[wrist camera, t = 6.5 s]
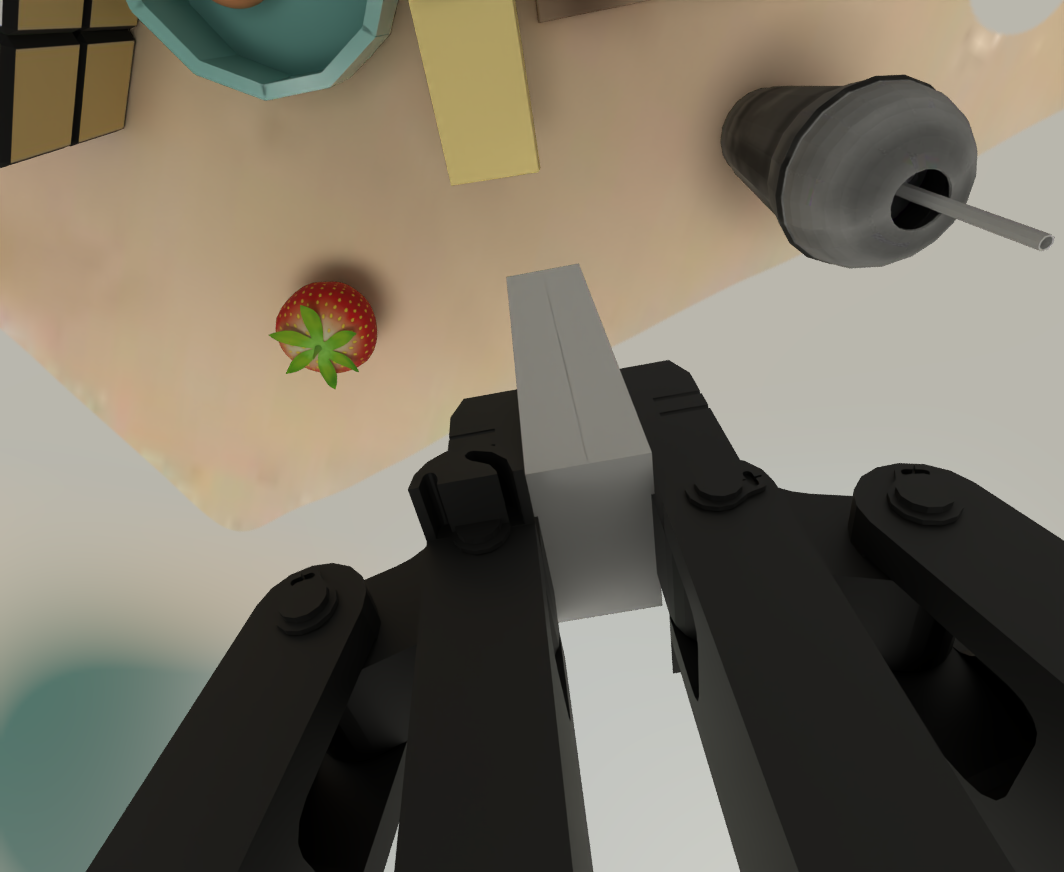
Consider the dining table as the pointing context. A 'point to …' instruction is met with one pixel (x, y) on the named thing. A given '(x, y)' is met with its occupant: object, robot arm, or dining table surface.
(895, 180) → the beverage cup
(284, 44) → the bowl
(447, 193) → the dining table surface
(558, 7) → the stand
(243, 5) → the ball
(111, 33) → the puzzle cube
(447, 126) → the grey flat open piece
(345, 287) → the fruit
